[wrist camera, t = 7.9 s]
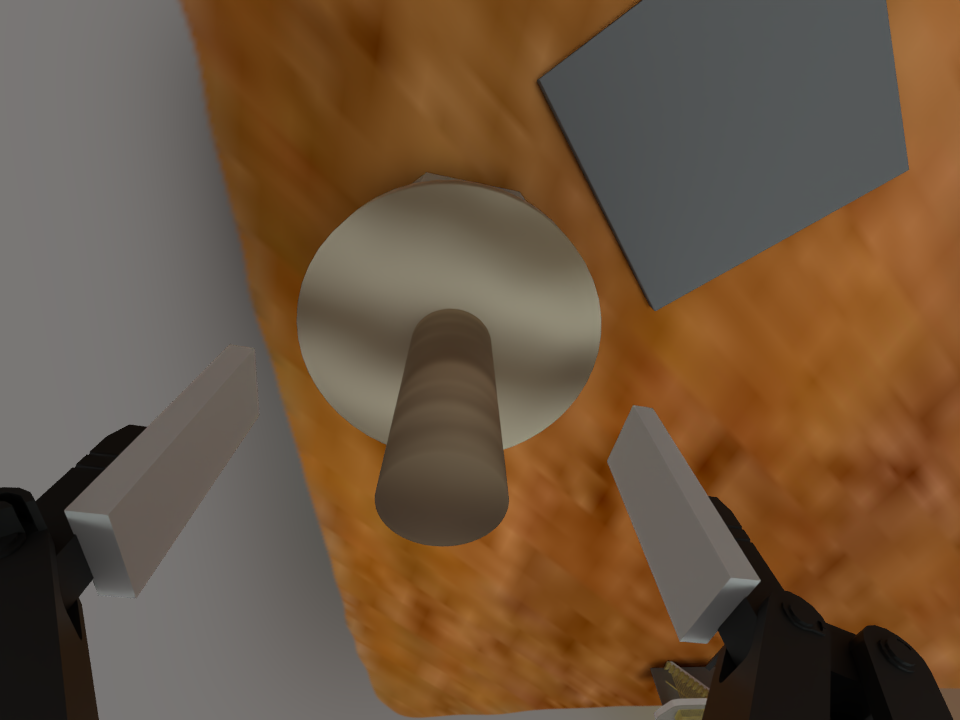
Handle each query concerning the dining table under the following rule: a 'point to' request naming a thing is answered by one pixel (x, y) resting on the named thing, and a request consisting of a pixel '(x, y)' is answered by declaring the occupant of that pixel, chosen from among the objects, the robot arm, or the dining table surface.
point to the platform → (682, 691)
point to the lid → (448, 344)
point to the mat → (728, 126)
